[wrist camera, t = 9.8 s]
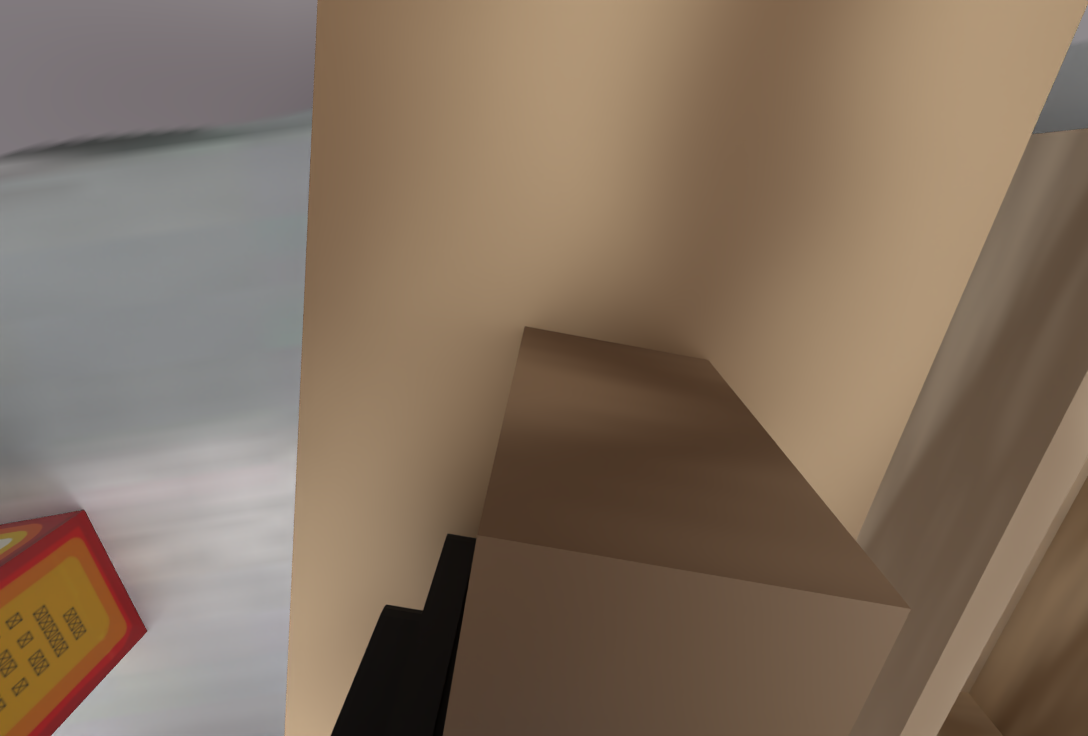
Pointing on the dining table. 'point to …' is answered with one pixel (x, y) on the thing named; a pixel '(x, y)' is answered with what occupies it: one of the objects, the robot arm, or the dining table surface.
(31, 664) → the baking soda box
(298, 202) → the dining table surface
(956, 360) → the open wooden crate
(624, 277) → the wooden block with riser
